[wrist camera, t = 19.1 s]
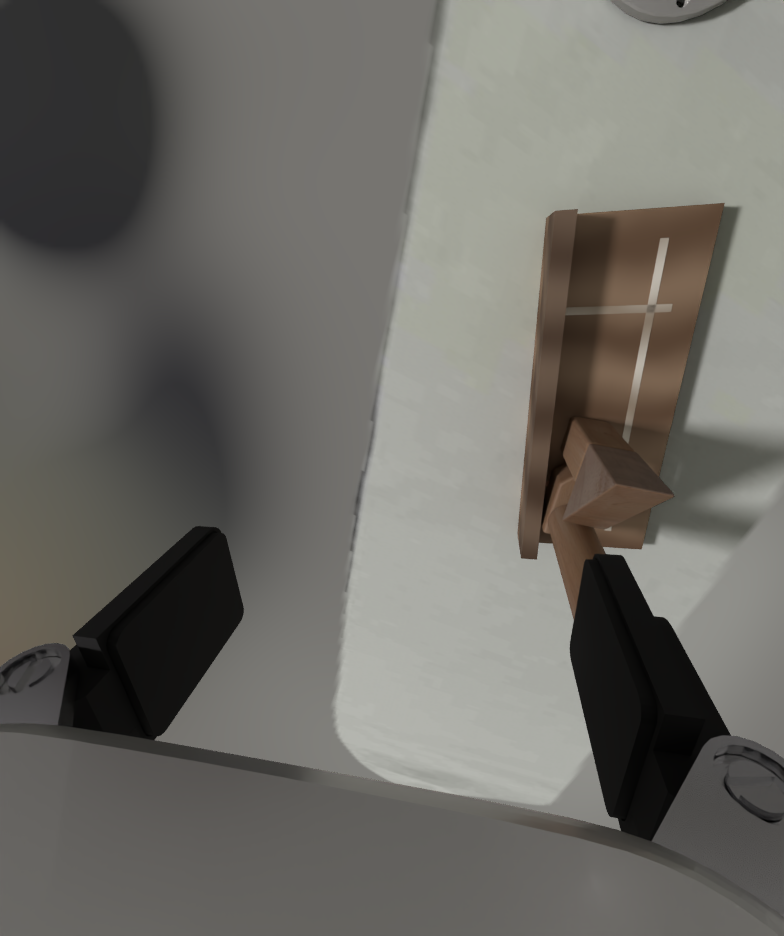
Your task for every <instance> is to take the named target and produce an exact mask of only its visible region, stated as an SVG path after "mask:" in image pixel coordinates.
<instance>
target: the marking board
mask: <svg viewBox="0 0 784 936" xmlns="http://www.w3.org/2000/svg"><path fill="white" fill-rule="evenodd" d="M723 208H724V203H719V204H705V205H692V206H678V207H664V208H651V209H637V210H624V211H610V212H597V213H583V214H577V211H578V209H574V210H561V211H555V212H553V213H552V214H551V215H550V216H548V217H547V218H546V227H545V238H544V249H543V260H542V271H541V282H540V293H539V303H538V314H537V325H536V336H535V347H534V358H533V369H532V380H531V391H530V402H529V413H528V424H527V435H526V446H525V457H524V468H523V479H522V490H521V501H520V512H519V523H518V540H519V547H520V554H521V558H524V559H537V553H538V545H539V543H553V542H552V538H551V535H550V534H548V533H545V532H543V528H542V524H541V519H542V511H543V502H544V497H545V494H546V491H547V488H548V485H549V482H550V479H551V476H552V473H553V470H554V469H555V468H556V467H558V466H560V465H562V464H564V463H566V461H565V459H564V457H563V455H562V453H561V449H560V448H561V445H562V442H563V439H564V436H565V433H566V430H567V427H568V424H569V421H570V419H571V417H581V418H587V419H592V420H598V421H604V422H608V423H610V424H611V425H612V426H613V427H614V428H615V430H616V431H617V432H618V433H619V434H620V435H621V436H622V437H623V439H624V440H625V441H626V442H627V443H628V444H629V445H630V447H631V448H632V449H633V450H634V452H636V453H638V454H639V455H640V457H641V458H642V459H643V460H644V461H645V462H646V463H647V464H648V466H649V467H650V468H651V469H652V470H653V471H654V472H655V473H656V475H657V476H658V477H659V475H660V471H661V466H662V462H663V458H664V454H665V450H666V445H667V441H668V437H669V433H670V429H671V425H672V420H673V416H674V412H675V408H676V404H677V400H678V395H679V391H680V387H681V383H682V379H683V375H684V370H685V366H686V362H687V358H688V354H689V350H690V345H691V341H692V337H693V333H694V329H695V324H696V320H697V316H698V312H699V308H700V304H701V299H702V295H703V291H704V287H705V283H706V279H707V274H708V270H709V266H710V262H711V258H712V254H713V249H714V245H715V241H716V237H717V233H718V228H719V224H720V220H721V216H722V212H723ZM650 512H651V508H650V509H647V510H645V511H643V512H641V513H639V514H637V515H635V516H633V517H631V518H628V519H626V520H624V521H622V522H620V523H618V524H616V525H614V526H612V527H609V528H607V529H605V530H604V529H599V528H594V529H595V531H596V534H597V536H598V538H599V540H600V542H601V545H602V547H614V548H629V549H642V546H643V541H644V537H645V533H646V529H647V525H648V521H649V516H650Z"/></svg>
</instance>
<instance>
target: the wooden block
mask: <svg viewBox="0 0 784 936" xmlns="http://www.w3.org/2000/svg"><path fill="white" fill-rule="evenodd" d="M560 449H561V453H562V455H563V457H564V459H565V461H566V463H564V464H562V465H560V466H558V467H556V468H555V469H554V470H553V473H552V476H551V479H550V482H549V485H548V488H547V491H546V494H545V497H544V502H543V511H542V519H541V524H542V528H543V532H545V533H548V534H550V535H551V538H552V542H553V546H554V549H555V553H556V557H557V560H558V564H559V567H560V571H561V575H562V578H563V582H564V586H565V589H566V593H567V597H568V600H569V604H570V608H571V611H572V615H573V619H574V618H575V612H576V606H577V600H578V595H579V589H580V583H581V577H582V572H583V566H584V562H585V560H586V559H593V556H594V554H606V553H605V551H604V549H603V547H602V545H601V542H600V540H599V538H598V536H597V534H596V531H595V529H594V528H599V529H604V530H605V529H607V528H609V527H612V526H614V525H616V524H618V523H620V522H622V521H624V520H626V519H628V518H631V517H633V516H635V515H637V514H639V513H641V512H643V511H645V510H647V509H650V508H652V507H654V506H656V505H658V504H660V503H662V502H664V501H666V500H669V499H671V498H673V497H674V494H673V493H672V491H671V490H670V489H669V488H668V487H667V486H666V485H665V484H664V482H663V481H662V480H661V479H660V478H659V477H658V476H657V475H656V473H655V472H654V471H653V470H652V469H651V468H650V467H649V466H648V464H647V463H646V462H645V461H644V460H643V459H642V458H641V457H640V455H639V454H638V453H636V452H634V450H633V449H632V448H631V447H630V445H629V444H628V443H627V442H626V441H625V440H624V439H623V437H622V436H621V435H620V434H619V433H618V432H617V431H616V430H615V428H614V427H613V426H612V425H611V424H610V423H608V422H604V421H598V420H592V419H587V418H581V417H571V419H570V421H569V424H568V427H567V430H566V433H565V436H564V439H563V442H562V445H561V448H560Z"/></svg>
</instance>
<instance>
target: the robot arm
mask: <svg viewBox="0 0 784 936" xmlns="http://www.w3.org/2000/svg"><path fill="white" fill-rule="evenodd" d="M726 1H727V0H611V2H612V3H614V4H615V5H616V6H617V7H618V8H620V9H621V10H622V11H623V12H624V13H626V14H628V15H630V16H632V17H635V18H637V19H639V20H641V21H646V22H652V23H659V24H663V23H674V22H682V21H685V20H688V19H691V18H694V17H698V16H701V15H703V14H705V13H706V12H708V11H710V10H712V9H714V8H716V7H718V6H720V5H722V4H723V3H725V2H726ZM676 2H681V3H682V8H679V7H678V6H677V5H676ZM243 613H244V608H243V603H242V599H241V596H240V591H239V587H238V583H237V579H236V575H235V571H234V568H233V563H232V559H231V555H230V551H229V547H228V543H227V539H226V536H225V535H224V534H223V533H221V531H220V530H219V529H218V528H216V527H201V526H197V527H194V528H193V529H192V530H191V531H189V532H188V533H187V534H186V535H185V536H184V537H183V538H181V539H180V540H179V541H178V542H177V543H176V544H175V545H174V546H172V547H171V548H170V549H169V550H168V551H167V552H166V553H165V554H164V555H163V556H161V557H160V558H159V559H158V560H157V561H156V562H155V563H153V564H152V565H151V566H150V567H149V568H148V569H147V570H146V571H144V572H143V573H142V574H141V575H140V576H139V577H138V578H137V579H136V580H134V581H133V582H132V583H131V584H130V585H129V586H128V587H126V588H125V589H124V590H123V591H122V592H121V593H120V594H119V595H118V596H117V597H115V598H114V599H113V600H112V601H111V602H110V603H109V604H107V605H106V606H105V607H104V608H103V609H102V610H101V611H100V612H98V613H97V614H96V615H95V616H94V617H93V618H92V619H91V620H89V621H88V622H87V623H86V624H85V625H84V626H83V627H82V628H81V629H79V630H78V631H77V632H76V633H75V634H74V635H73V638H74V640H75V642H76V644H77V645H76V646H74V647H73V648H72V649H71V650H69V648H68V647H67V646H66V645H63V644H59V643H51V644H44V645H41V646H37V647H34V648H31V649H29V650H27V651H24V652H22V653H20V654H18V655H17V656H15V657H13V658H12V659H10V660H8V661H7V662H6V663H5V664H3V665H2V666H1V667H0V936H784V758H782V757H781V756H779V755H778V754H776V753H775V752H774V751H772V750H770V749H768V748H766V747H764V746H762V745H760V744H758V743H756V742H754V741H751V740H747V739H745V738H741V737H738V736H731V735H730V733H729V731H728V729H727V727H726V726H725V724H724V722H723V720H722V718H721V716H720V714H719V713H718V711H717V709H716V707H715V705H714V704H713V702H712V700H711V698H710V696H709V695H708V692H707V691H706V689H705V687H704V685H703V683H702V681H701V679H700V678H699V676H698V674H697V672H696V670H695V668H694V667H693V665H692V663H691V661H690V659H689V657H688V655H687V654H686V652H685V650H684V648H683V646H682V644H681V643H680V641H679V639H678V637H677V635H676V633H675V631H674V630H673V628H672V626H671V625H670V623H669V622H668V620H666V619H665V618H663V617H654V616H653V614H652V612H651V610H650V608H649V606H648V604H647V602H646V600H645V598H644V596H643V594H642V592H641V590H640V588H639V586H638V584H637V582H636V581H635V579H634V577H633V575H632V573H631V571H630V569H629V567H628V565H627V563H626V561H625V559H624V557H623V556H621V555H610V554H594V556H593V559H586V560H585V562H584V566H583V572H582V577H581V583H580V589H579V595H578V600H577V606H576V612H575V618H574V623H573V629H572V635H571V641H570V657H571V662H572V666H573V670H574V675H575V679H576V683H577V687H578V692H579V696H580V700H581V704H582V709H583V713H584V717H585V721H586V726H587V730H588V734H589V738H590V743H591V747H592V751H593V755H594V759H595V764H596V768H597V772H598V776H599V781H600V785H601V789H602V793H603V798H604V802H605V806H606V809H607V812H608V814H609V816H610V817H615V818H618V821H619V825H620V828H621V831H619V830H616V829H611V828H608V827H604V826H600V825H596V824H592V823H588V822H585V821H580V820H576V819H573V818H569V817H564V816H559V815H554V814H549V813H544V812H539V811H534V810H530V809H525V808H520V807H515V806H510V805H505V804H500V803H496V802H491V801H486V800H481V799H476V798H470V797H465V796H460V795H454V794H449V793H443V792H438V791H433V790H427V789H422V788H417V787H411V786H406V785H400V784H395V783H390V782H384V781H379V780H373V779H368V778H363V777H357V776H351V775H346V774H341V773H335V772H330V771H324V770H319V769H313V768H308V767H302V766H296V765H291V764H286V763H280V762H274V761H269V760H263V759H257V758H251V757H246V756H241V755H235V754H230V753H224V752H218V751H213V750H207V749H201V748H195V747H189V746H184V745H178V744H172V743H166V742H160V741H155V738H156V737H157V736H160V735H162V734H163V733H164V732H165V731H166V729H167V728H168V726H169V725H170V724H171V722H172V721H173V719H174V718H175V716H176V715H177V713H178V712H179V711H180V709H181V708H182V706H183V705H184V703H185V702H186V700H187V699H188V697H189V696H190V695H191V693H192V692H193V690H194V689H195V687H196V686H197V684H198V683H199V681H200V680H201V678H202V677H203V676H204V674H205V673H206V671H207V670H208V668H209V667H210V665H211V664H212V662H213V661H214V660H215V658H216V657H217V655H218V654H219V652H220V651H221V649H222V648H223V646H224V645H225V643H226V642H227V641H228V639H229V638H230V636H231V635H232V633H233V632H234V630H235V629H236V627H237V626H238V624H239V623H240V621H241V620H242V617H243Z"/></svg>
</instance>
